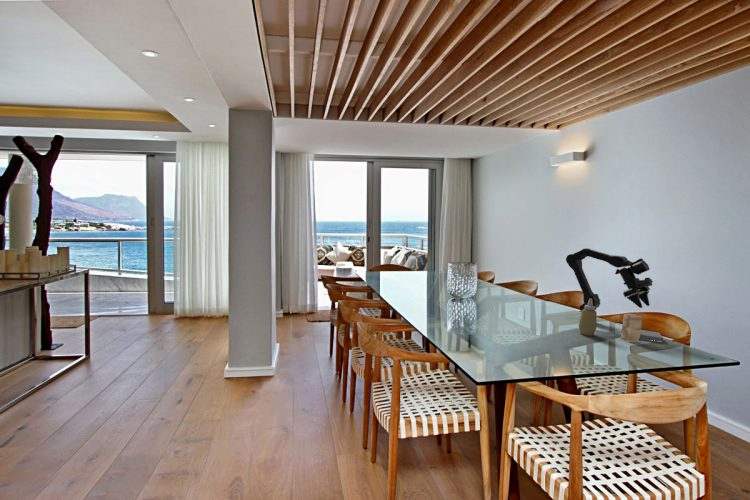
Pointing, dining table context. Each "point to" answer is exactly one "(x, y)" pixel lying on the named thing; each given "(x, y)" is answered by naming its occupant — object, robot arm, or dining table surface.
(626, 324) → the oak block
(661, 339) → the slate base
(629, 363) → the dining table surface
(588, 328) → the squeeze bottle
